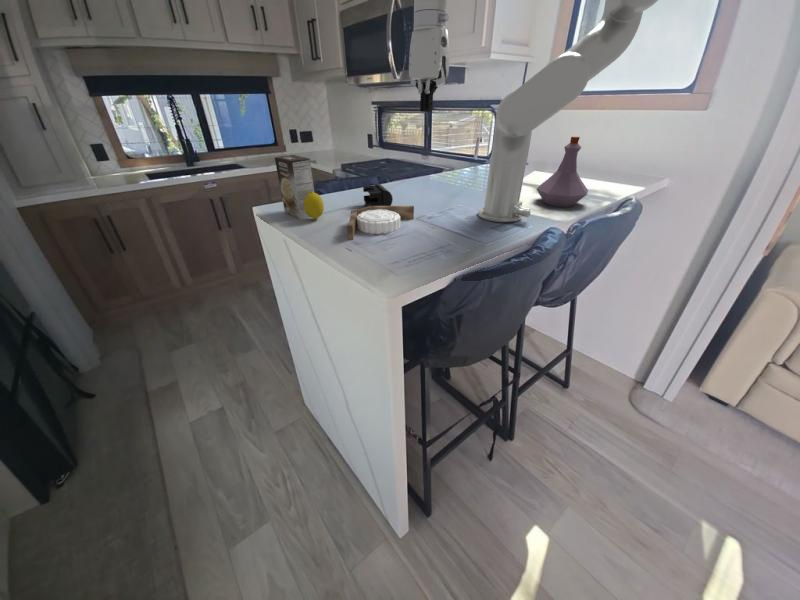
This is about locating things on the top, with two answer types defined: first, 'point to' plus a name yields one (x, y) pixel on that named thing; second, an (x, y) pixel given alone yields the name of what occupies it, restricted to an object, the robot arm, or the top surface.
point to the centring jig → (403, 211)
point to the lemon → (313, 205)
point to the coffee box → (294, 183)
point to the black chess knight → (377, 196)
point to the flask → (564, 180)
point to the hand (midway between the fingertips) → (426, 111)
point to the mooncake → (378, 221)
